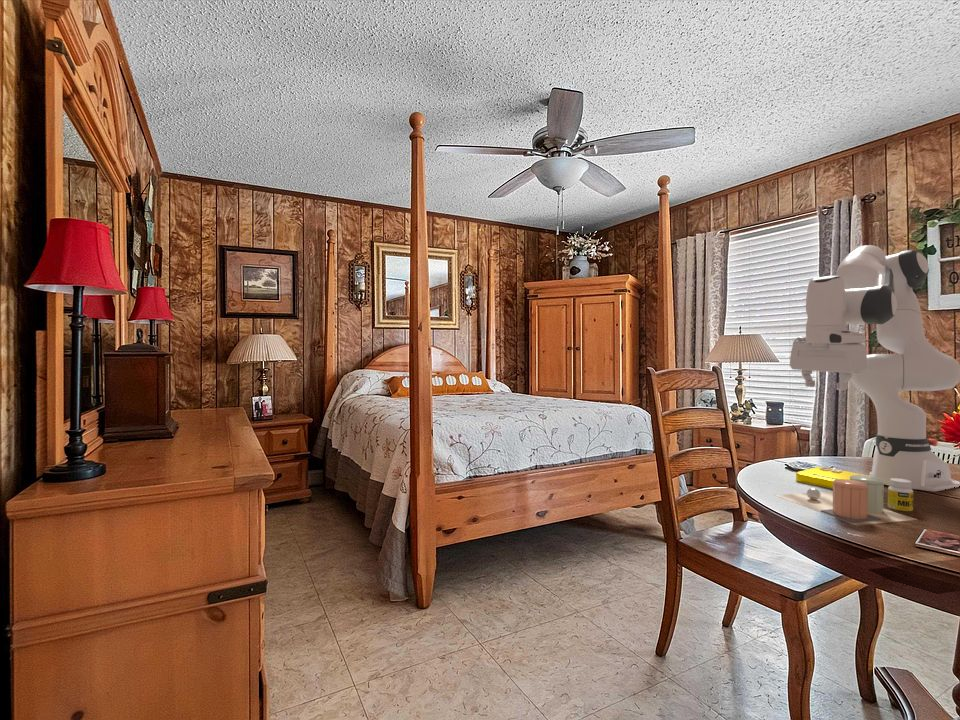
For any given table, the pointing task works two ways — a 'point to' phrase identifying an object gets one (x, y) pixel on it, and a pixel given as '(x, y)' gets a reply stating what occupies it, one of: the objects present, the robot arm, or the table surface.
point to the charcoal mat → (869, 518)
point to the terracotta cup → (850, 498)
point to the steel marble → (813, 494)
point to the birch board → (827, 503)
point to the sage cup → (873, 492)
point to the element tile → (823, 476)
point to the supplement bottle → (900, 495)
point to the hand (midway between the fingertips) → (825, 388)
